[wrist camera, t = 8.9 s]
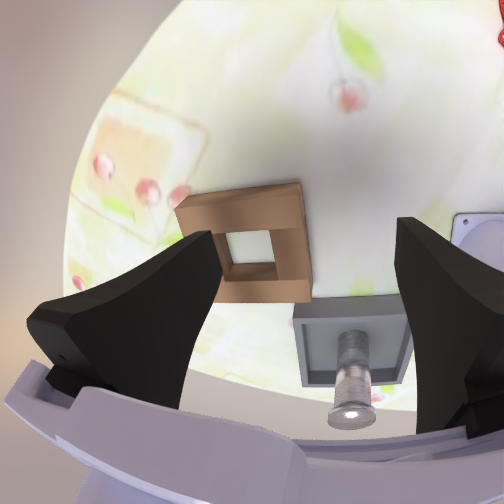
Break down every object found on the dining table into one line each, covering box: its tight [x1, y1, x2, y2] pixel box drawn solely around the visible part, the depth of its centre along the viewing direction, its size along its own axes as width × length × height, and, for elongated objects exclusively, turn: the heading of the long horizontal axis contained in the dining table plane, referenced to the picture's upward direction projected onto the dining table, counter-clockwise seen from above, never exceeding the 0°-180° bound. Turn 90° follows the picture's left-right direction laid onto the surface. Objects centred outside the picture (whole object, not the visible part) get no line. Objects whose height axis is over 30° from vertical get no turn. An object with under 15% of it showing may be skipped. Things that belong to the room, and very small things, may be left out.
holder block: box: [174, 183, 313, 303], centre depth 23 cm, size 9×9×2 cm
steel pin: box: [328, 330, 376, 430], centre depth 23 cm, size 4×4×9 cm
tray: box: [292, 294, 414, 387], centre depth 26 cm, size 11×11×2 cm
